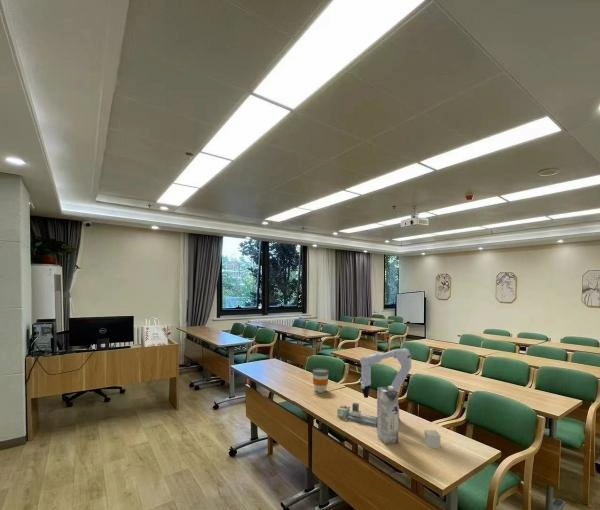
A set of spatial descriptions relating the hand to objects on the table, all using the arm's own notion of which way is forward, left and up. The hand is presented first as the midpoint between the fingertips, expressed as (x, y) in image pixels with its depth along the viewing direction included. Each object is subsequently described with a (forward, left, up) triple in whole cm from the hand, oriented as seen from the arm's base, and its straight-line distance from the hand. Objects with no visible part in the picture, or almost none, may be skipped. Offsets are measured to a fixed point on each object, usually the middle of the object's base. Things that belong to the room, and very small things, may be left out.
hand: (366, 397), depth 204 cm
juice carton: (-21, +30, -10) cm, 38 cm away
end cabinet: (+11, +12, -9) cm, 19 cm away
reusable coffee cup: (+44, -25, -10) cm, 52 cm away
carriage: (+3, +12, -7) cm, 14 cm away
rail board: (-2, +12, -9) cm, 15 cm away
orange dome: (+11, +12, -6) cm, 17 cm away
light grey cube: (-42, +23, -10) cm, 49 cm away
